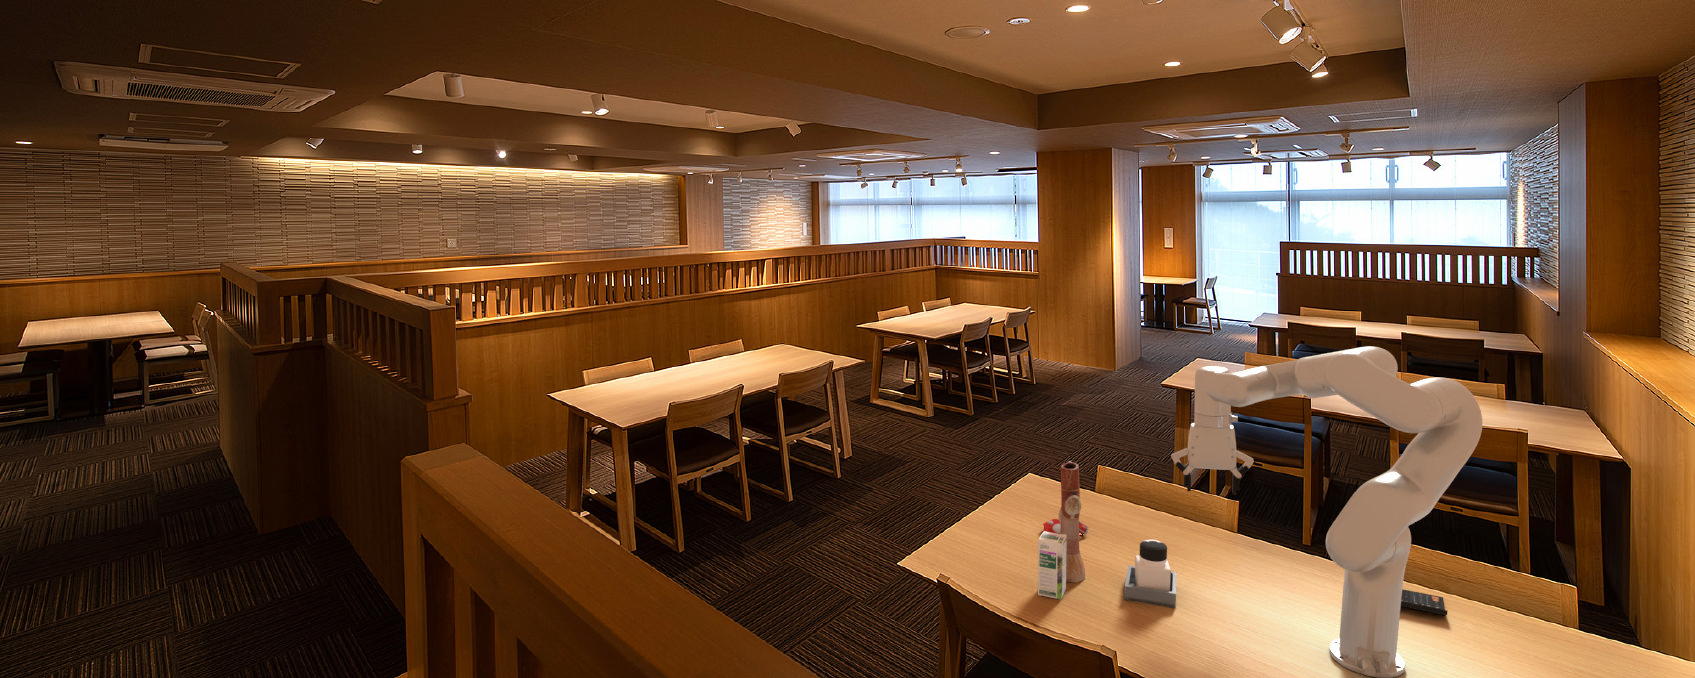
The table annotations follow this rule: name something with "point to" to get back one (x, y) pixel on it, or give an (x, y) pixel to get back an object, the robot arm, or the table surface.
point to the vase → (1071, 520)
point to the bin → (1149, 591)
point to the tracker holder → (1054, 527)
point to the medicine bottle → (1153, 566)
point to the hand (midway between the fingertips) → (1211, 491)
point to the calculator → (1423, 602)
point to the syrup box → (1052, 565)
